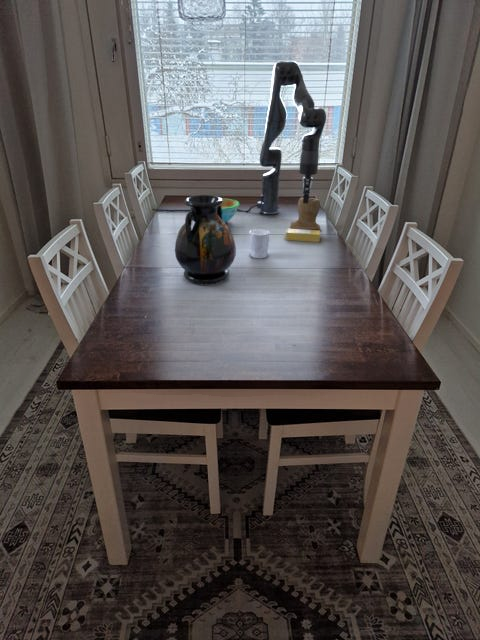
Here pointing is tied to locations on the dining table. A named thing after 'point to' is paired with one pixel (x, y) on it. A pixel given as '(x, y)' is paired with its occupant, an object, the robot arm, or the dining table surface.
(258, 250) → the white cup
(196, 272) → the amphora vase
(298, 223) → the stone cup
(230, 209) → the bowl
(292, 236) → the packet
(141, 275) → the dining table surface
